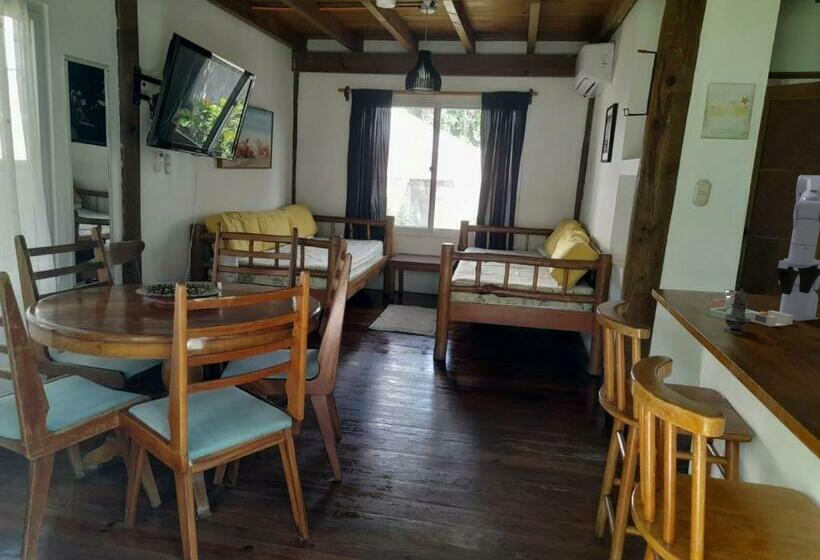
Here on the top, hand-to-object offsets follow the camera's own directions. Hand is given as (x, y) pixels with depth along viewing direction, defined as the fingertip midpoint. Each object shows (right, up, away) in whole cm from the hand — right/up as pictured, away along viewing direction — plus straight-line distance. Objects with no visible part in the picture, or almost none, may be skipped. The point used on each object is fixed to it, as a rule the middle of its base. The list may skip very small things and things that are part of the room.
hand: (794, 293), depth 146 cm
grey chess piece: (-19, -10, -4) cm, 22 cm away
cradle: (-3, -9, +6) cm, 11 cm away
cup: (-6, -6, +20) cm, 22 cm away
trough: (-11, -8, +12) cm, 17 cm away
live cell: (-12, -7, +11) cm, 17 cm away
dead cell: (-6, -6, +20) cm, 22 cm away
